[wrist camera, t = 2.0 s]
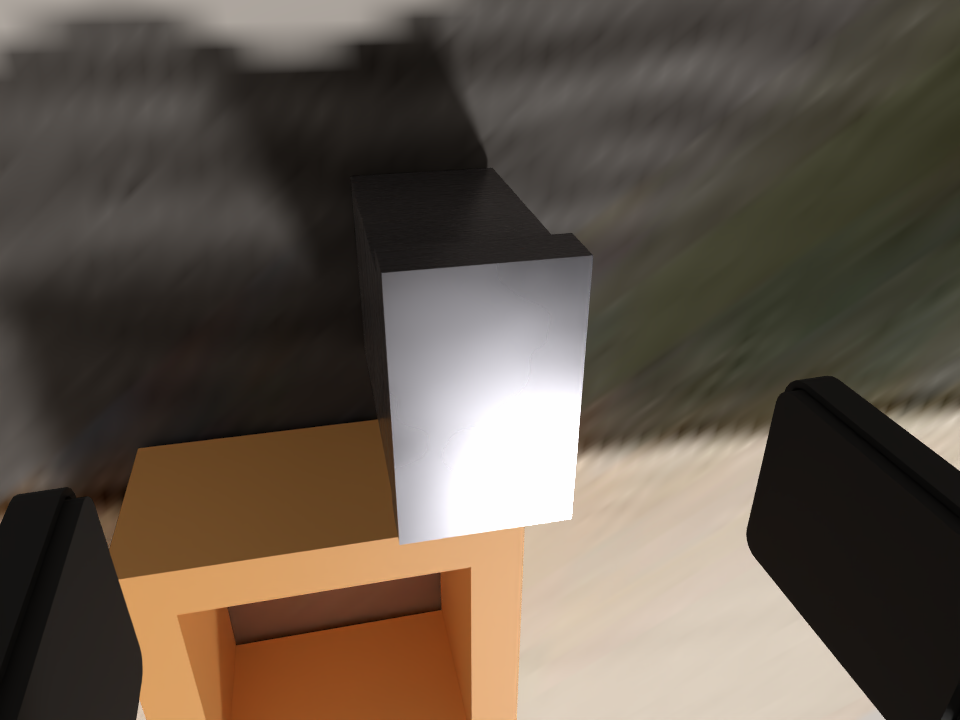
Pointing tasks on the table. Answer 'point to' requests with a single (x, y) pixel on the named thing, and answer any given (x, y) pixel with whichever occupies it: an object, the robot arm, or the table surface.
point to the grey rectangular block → (470, 350)
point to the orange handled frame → (306, 586)
